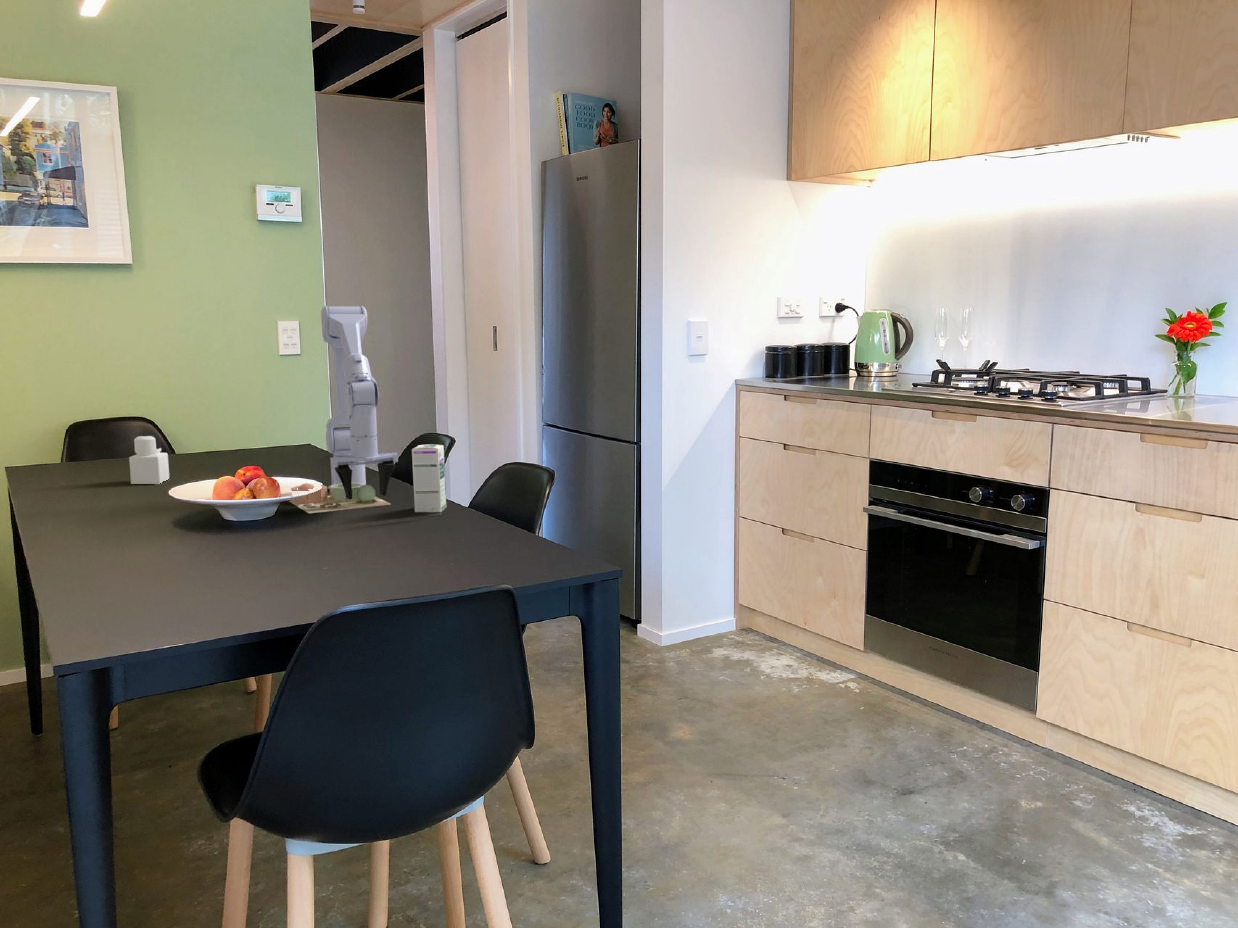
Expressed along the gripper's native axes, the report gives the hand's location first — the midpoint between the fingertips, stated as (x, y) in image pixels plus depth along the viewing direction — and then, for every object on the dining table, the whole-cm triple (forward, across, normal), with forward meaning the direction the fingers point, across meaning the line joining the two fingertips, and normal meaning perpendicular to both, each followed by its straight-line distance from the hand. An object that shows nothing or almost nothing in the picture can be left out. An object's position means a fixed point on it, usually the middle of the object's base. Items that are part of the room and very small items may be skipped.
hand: (366, 496), depth 215 cm
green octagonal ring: (+2, -2, +7) cm, 8 cm away
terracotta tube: (+2, -10, +9) cm, 14 cm away
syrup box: (+2, +9, -15) cm, 18 cm away
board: (+2, -5, +4) cm, 7 cm away
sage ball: (+1, 0, 0) cm, 1 cm away
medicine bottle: (+2, -36, +61) cm, 71 cm away
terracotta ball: (+1, -10, +9) cm, 13 cm away
